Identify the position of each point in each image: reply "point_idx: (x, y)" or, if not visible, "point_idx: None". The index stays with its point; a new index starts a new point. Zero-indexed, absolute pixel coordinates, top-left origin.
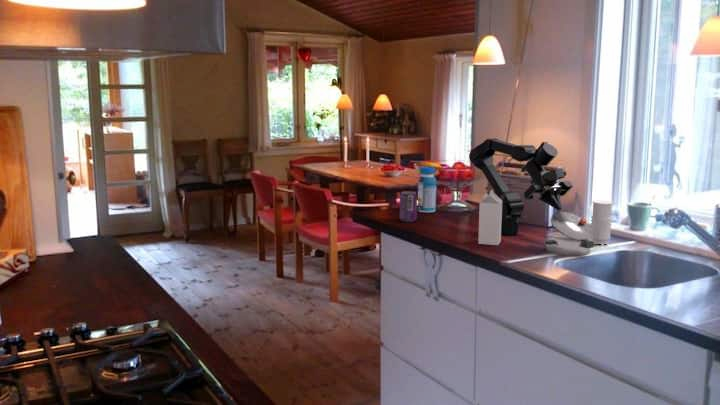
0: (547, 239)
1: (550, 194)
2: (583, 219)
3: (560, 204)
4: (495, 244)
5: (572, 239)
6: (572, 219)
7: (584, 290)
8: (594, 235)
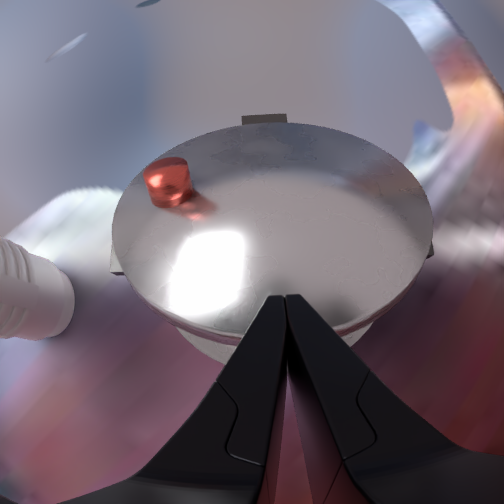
0: None
1: (478, 453)
2: (158, 173)
3: (263, 326)
4: None
5: None
6: (213, 228)
7: (457, 28)
8: (54, 294)
